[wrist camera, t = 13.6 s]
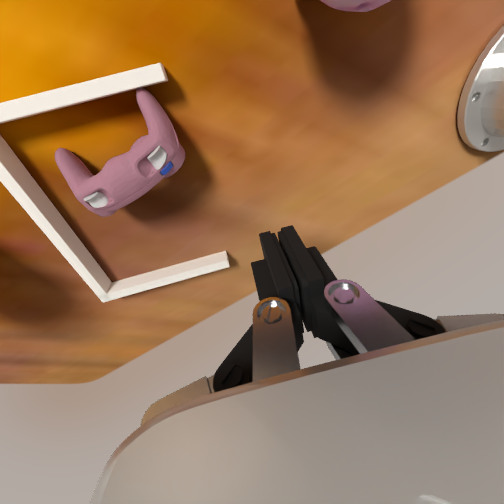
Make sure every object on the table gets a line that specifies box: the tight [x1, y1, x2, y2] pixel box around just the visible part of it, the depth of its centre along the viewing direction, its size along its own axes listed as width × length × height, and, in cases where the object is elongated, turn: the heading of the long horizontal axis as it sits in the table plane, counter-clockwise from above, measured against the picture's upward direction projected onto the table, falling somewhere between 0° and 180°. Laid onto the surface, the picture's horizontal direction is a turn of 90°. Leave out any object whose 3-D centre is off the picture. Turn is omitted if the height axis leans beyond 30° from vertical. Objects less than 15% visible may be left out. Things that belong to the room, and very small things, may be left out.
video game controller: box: [55, 88, 185, 217], centre depth 19 cm, size 10×5×7 cm, turn 119°
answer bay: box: [0, 63, 230, 302], centre depth 23 cm, size 15×19×2 cm
